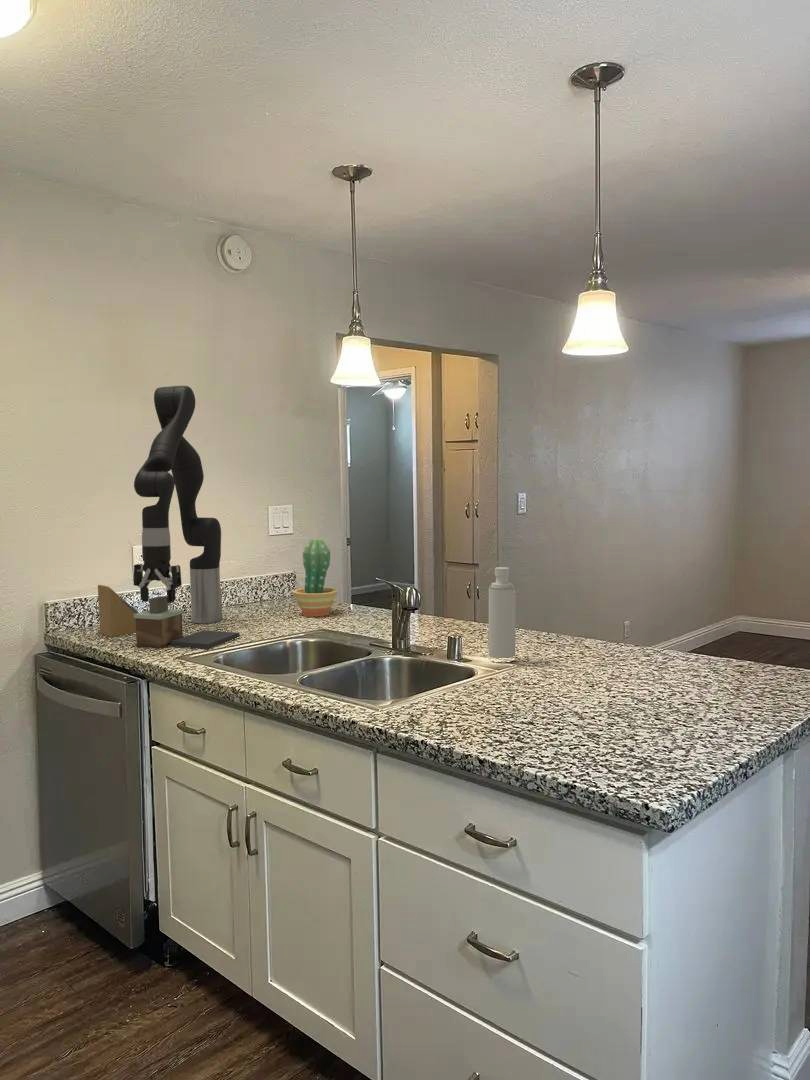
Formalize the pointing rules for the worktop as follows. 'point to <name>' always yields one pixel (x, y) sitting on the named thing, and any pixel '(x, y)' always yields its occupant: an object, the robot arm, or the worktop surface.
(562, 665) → the worktop surface
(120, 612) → the magazine file holder
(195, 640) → the plate
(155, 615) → the lid
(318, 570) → the potted cactus
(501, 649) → the grey bottle
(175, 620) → the walnut box
